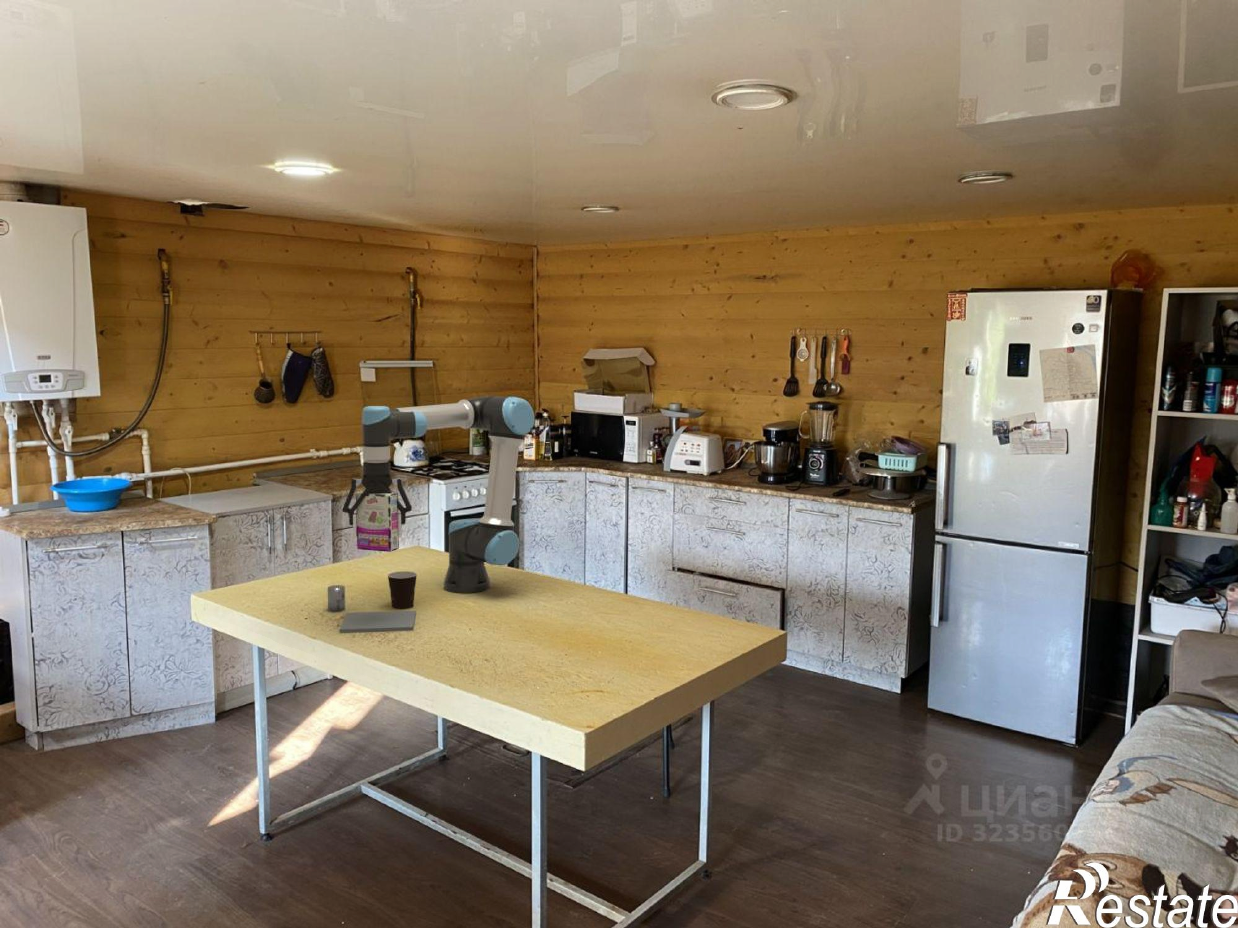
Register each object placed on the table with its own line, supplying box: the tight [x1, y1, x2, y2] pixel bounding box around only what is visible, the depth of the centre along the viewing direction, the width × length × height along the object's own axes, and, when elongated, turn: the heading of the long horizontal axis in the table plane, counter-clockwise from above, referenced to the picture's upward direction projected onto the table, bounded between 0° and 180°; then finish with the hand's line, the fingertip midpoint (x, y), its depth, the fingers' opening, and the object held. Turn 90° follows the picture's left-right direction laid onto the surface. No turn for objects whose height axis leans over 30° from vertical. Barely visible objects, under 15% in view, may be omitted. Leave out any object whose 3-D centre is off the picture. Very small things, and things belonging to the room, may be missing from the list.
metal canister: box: [327, 584, 346, 613], centre depth 271 cm, size 5×5×7 cm
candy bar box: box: [355, 491, 400, 553], centre depth 256 cm, size 11×5×16 cm, turn 73°
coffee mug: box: [387, 570, 418, 610], centre depth 277 cm, size 12×9×10 cm
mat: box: [339, 610, 417, 634], centre depth 259 cm, size 20×16×1 cm
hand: (377, 536), depth 256 cm, fingers closed on candy bar box, 12 cm apart
